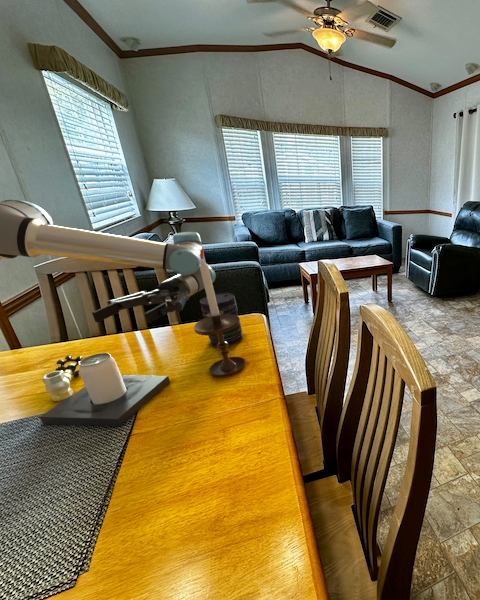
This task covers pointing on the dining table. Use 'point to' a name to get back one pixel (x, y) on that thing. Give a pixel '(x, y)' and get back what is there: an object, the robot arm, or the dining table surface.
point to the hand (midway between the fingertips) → (120, 317)
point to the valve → (61, 379)
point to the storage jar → (228, 307)
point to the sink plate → (106, 404)
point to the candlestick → (218, 328)
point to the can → (102, 378)
